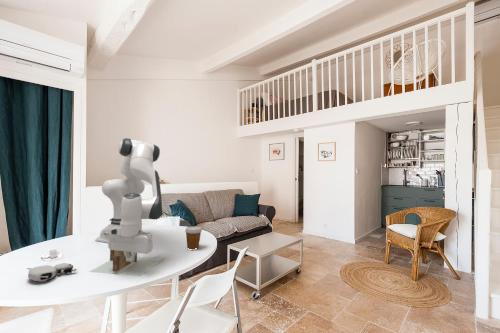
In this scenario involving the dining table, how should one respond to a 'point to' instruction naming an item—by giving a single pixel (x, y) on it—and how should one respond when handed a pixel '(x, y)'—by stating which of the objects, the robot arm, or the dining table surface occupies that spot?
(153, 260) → the card
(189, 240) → the disposable coffee cup
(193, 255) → the dining table surface
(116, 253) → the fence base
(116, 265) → the hinged fence panel
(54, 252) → the teacup and saucer
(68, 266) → the robot toy
